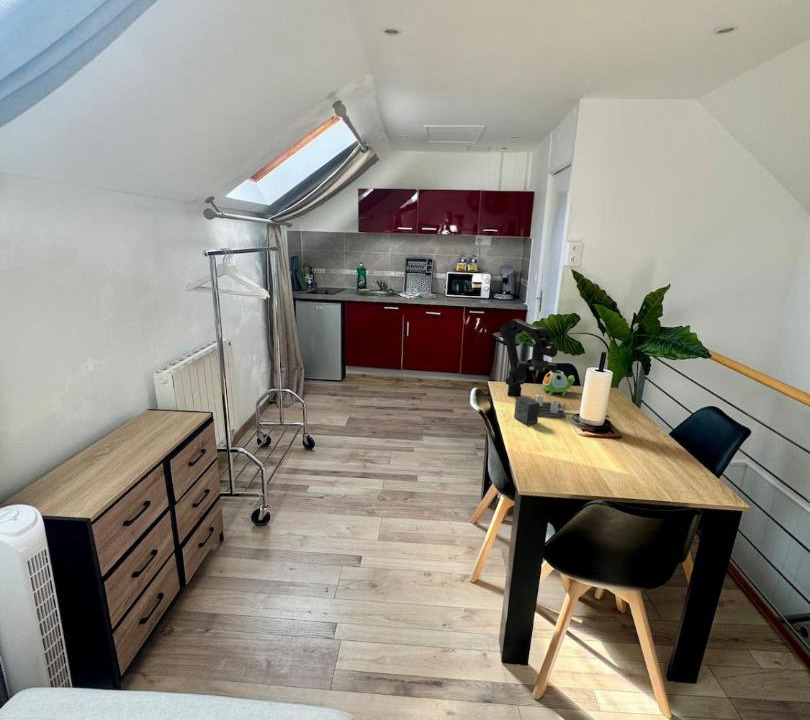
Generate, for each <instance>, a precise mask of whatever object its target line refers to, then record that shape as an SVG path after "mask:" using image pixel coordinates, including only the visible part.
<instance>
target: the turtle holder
mask: <svg viewBox="0 0 810 720" xmlns="http://www.w3.org/2000/svg"><path fill="white" fill-rule="evenodd" d="M575 381H576V379H575V376H574V375H572V374H571V375H569V376H568V377H567V376H566V375H565V373H564V372H563V371H561V370H557V371H550V370H549V372H548V373H546V374H545V375H544V378H543V381H542V388H543V390H544V391H546V392H547V391H548V393H547V395H548V396H549V395H551V396H553V395H554V393H561V395H562V396H565V395H566V392H567V391H568V390H569V389H570V388H572V386H573V384H574V382H575Z"/></svg>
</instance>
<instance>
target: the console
mask: <svg viewBox="0 0 810 720" xmlns="http://www.w3.org/2000/svg"><path fill="white" fill-rule="evenodd" d="M555 402H558V413H557V414H556V413H551V412H550V407H551V401H543V405H542V406H539V413H538V418H539V417H541V418H554V419H567V414H566V412H565V410H564V407H563V406H562V403H561V402H560V401H557V400H555Z"/></svg>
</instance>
